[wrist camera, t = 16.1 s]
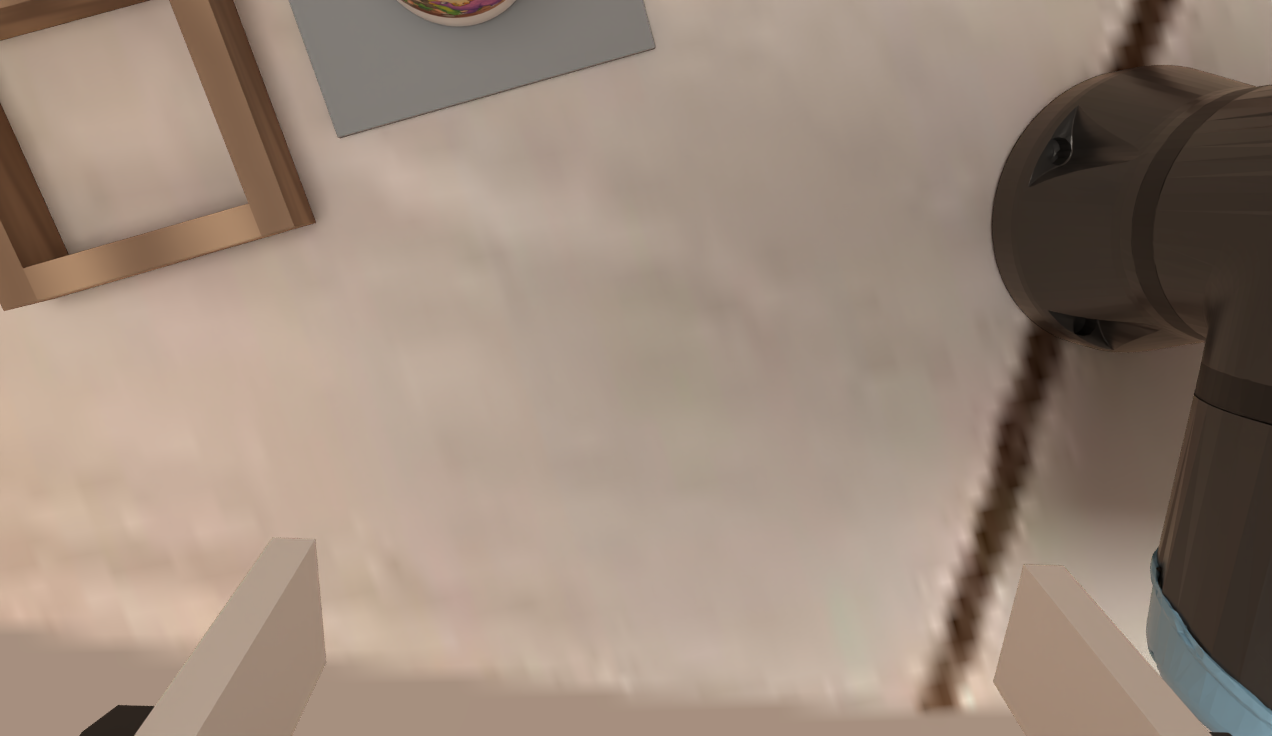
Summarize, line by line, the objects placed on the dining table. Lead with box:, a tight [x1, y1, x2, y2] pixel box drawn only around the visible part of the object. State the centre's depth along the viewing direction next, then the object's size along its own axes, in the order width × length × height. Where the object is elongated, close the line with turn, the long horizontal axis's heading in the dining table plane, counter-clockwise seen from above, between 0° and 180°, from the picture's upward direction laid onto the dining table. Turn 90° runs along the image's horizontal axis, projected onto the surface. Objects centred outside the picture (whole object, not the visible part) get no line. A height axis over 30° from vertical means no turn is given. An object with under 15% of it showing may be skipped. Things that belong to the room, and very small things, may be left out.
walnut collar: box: [0, 0, 316, 311], centre depth 38 cm, size 13×13×4 cm
